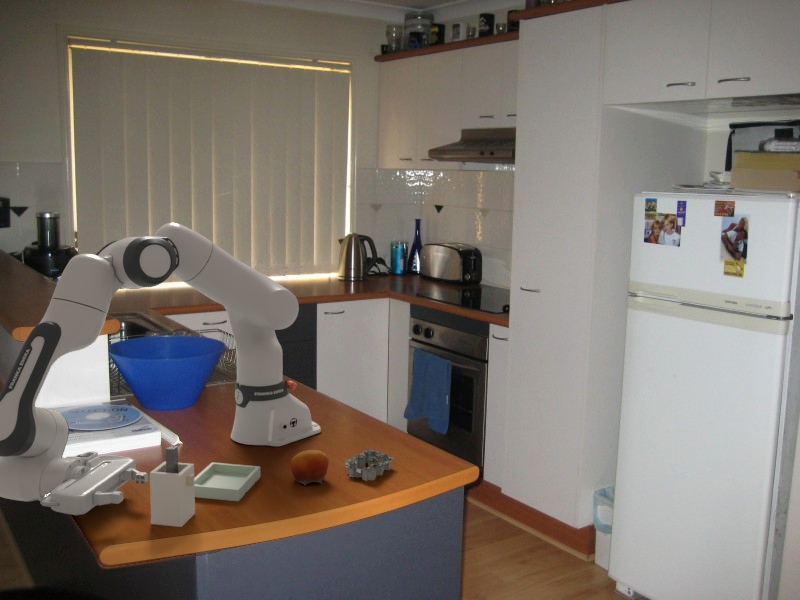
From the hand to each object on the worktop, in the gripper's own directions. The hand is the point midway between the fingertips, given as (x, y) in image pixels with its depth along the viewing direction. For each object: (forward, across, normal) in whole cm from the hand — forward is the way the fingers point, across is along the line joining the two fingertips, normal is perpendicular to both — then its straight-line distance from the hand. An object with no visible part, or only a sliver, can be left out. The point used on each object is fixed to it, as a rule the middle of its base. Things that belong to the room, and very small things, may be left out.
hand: (134, 487), depth 151 cm
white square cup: (+8, 0, +5) cm, 9 cm away
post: (+8, 0, +5) cm, 9 cm away
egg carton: (+39, +32, +6) cm, 50 cm away
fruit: (+28, +24, +6) cm, 37 cm away
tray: (+11, +16, +5) cm, 21 cm away
